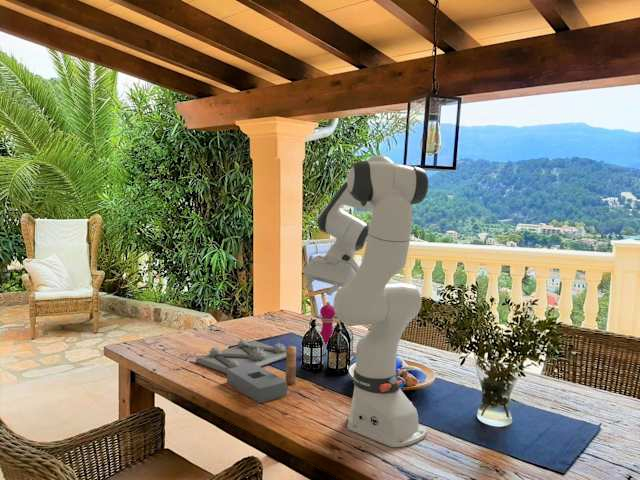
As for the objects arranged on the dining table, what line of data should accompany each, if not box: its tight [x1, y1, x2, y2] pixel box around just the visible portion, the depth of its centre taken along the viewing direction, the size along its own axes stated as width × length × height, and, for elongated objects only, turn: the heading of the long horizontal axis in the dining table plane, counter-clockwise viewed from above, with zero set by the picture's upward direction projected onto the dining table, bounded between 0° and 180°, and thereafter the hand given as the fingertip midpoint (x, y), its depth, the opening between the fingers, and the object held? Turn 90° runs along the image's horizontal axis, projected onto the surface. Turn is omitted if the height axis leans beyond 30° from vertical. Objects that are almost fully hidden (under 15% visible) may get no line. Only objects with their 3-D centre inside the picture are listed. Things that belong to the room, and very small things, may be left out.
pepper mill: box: [319, 301, 336, 344], centre depth 201 cm, size 7×7×20 cm
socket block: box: [226, 363, 288, 404], centre depth 162 cm, size 20×10×4 cm, turn 39°
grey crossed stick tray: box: [195, 338, 287, 375], centre depth 189 cm, size 30×22×7 cm
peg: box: [285, 345, 297, 386], centre depth 168 cm, size 3×3×12 cm
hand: (317, 291), depth 173 cm, fingers open, 8 cm apart
